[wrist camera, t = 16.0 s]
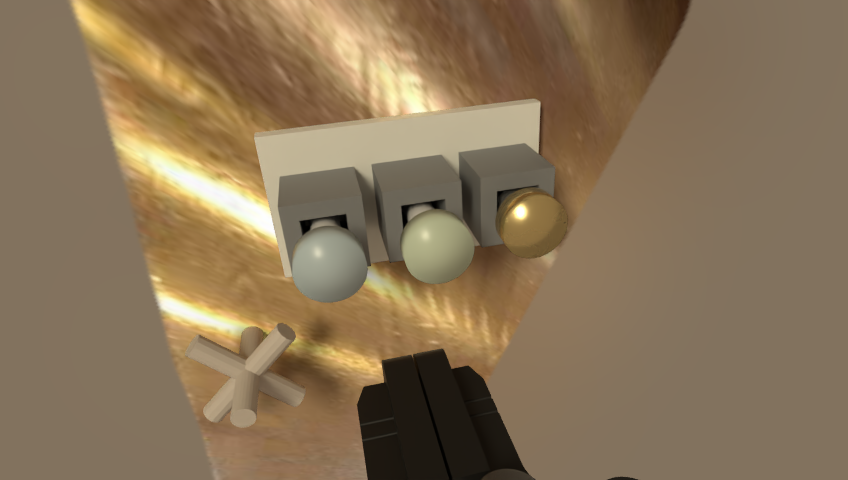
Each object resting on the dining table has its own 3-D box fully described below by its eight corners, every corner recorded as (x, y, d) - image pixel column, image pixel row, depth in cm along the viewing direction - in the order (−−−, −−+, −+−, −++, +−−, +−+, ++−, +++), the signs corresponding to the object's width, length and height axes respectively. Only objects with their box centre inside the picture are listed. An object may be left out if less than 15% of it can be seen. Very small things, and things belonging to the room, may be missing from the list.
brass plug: (468, 161, 42) (504, 203, 35) (523, 153, 43) (569, 192, 36) (469, 213, 44) (503, 263, 37) (522, 205, 45) (565, 252, 38)
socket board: (255, 132, 40) (248, 164, 34) (534, 98, 43) (573, 121, 37) (285, 270, 46) (284, 318, 39) (530, 230, 49) (563, 268, 43)
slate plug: (287, 192, 39) (285, 244, 32) (350, 183, 40) (362, 232, 33) (298, 247, 41) (299, 308, 34) (357, 237, 42) (371, 295, 35)
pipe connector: (332, 322, 49) (340, 400, 40) (266, 394, 51) (261, 482, 42) (236, 267, 44) (222, 341, 36) (168, 347, 47) (140, 436, 38)
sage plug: (382, 178, 40) (401, 226, 33) (441, 170, 41) (473, 215, 34) (388, 233, 42) (407, 289, 35) (444, 224, 43) (475, 277, 36)
